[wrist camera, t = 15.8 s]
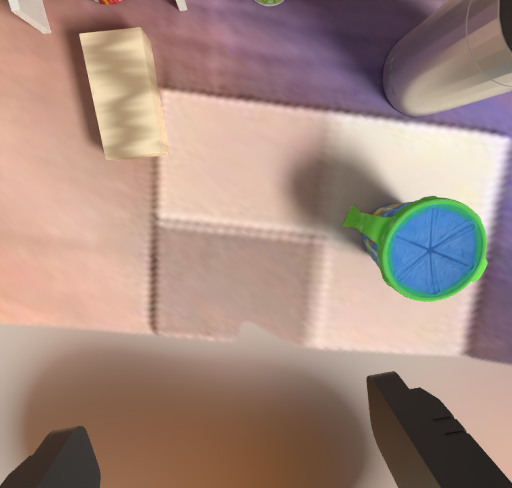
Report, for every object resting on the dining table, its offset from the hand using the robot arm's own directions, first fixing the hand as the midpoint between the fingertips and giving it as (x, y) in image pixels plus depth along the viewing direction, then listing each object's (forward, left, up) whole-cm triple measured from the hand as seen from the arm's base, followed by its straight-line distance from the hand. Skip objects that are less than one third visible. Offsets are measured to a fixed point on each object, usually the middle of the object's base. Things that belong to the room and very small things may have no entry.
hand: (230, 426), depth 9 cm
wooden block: (+9, -22, -30) cm, 39 cm away
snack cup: (-19, +4, -32) cm, 38 cm away
